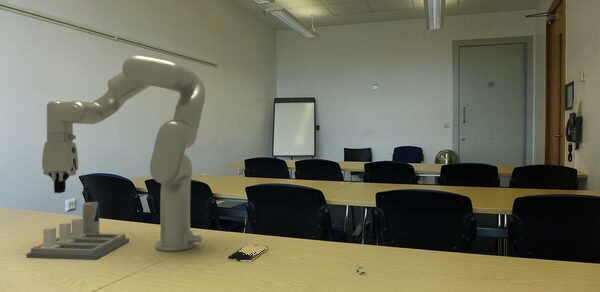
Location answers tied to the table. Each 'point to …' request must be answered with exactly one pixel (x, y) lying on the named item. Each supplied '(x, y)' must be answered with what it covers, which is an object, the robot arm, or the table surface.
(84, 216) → the energy drink
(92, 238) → the switch bank
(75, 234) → the right tab
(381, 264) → the table surface
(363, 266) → the adhesive hook
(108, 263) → the table surface
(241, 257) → the phone
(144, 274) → the table surface
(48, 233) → the left tab
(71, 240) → the middle tab
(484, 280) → the table surface
